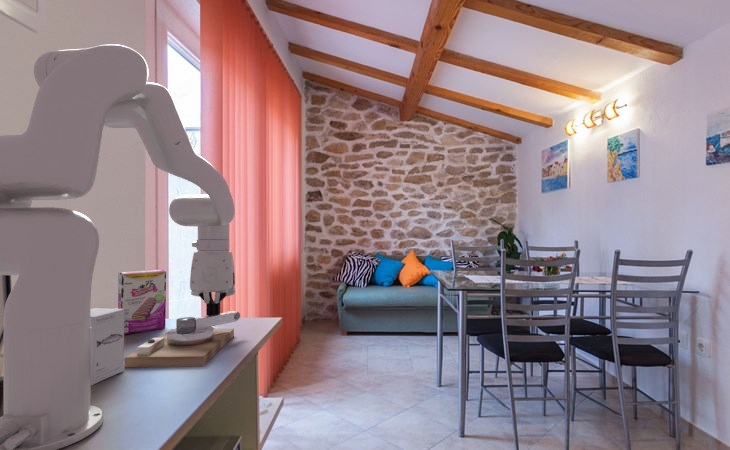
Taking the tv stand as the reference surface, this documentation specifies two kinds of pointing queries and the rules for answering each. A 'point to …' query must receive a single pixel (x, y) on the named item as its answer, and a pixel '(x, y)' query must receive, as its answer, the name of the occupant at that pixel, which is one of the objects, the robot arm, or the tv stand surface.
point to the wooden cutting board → (177, 352)
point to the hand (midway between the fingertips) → (213, 318)
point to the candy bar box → (142, 300)
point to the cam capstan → (198, 328)
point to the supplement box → (106, 343)
